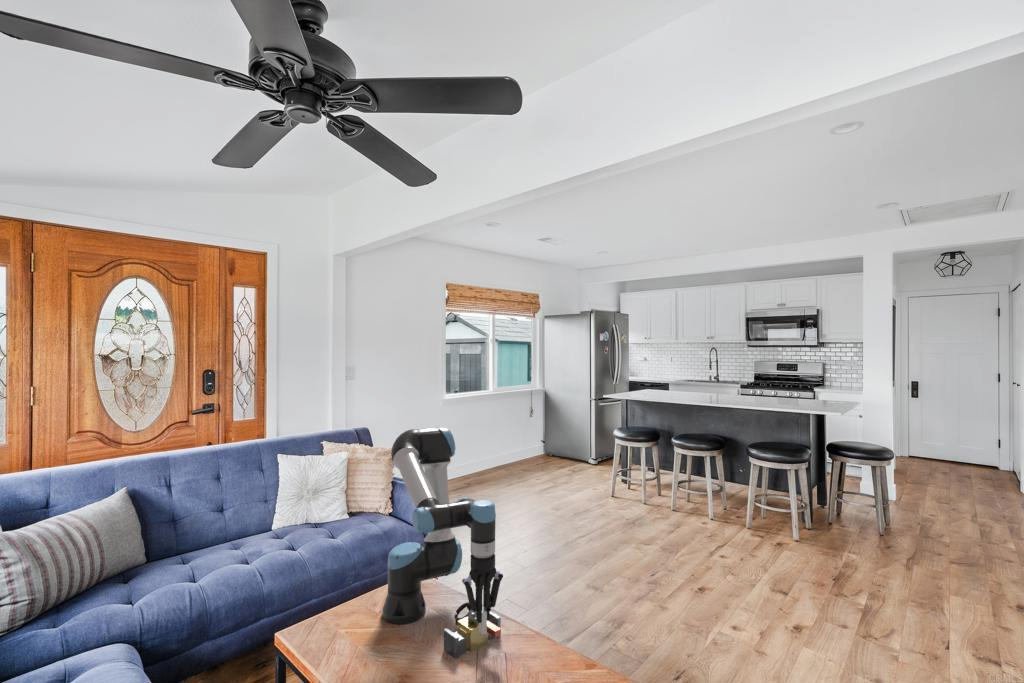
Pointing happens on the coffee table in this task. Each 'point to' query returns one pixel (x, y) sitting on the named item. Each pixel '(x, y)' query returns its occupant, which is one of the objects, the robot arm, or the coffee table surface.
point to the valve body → (468, 637)
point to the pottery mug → (461, 610)
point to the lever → (491, 627)
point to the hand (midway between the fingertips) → (482, 631)
